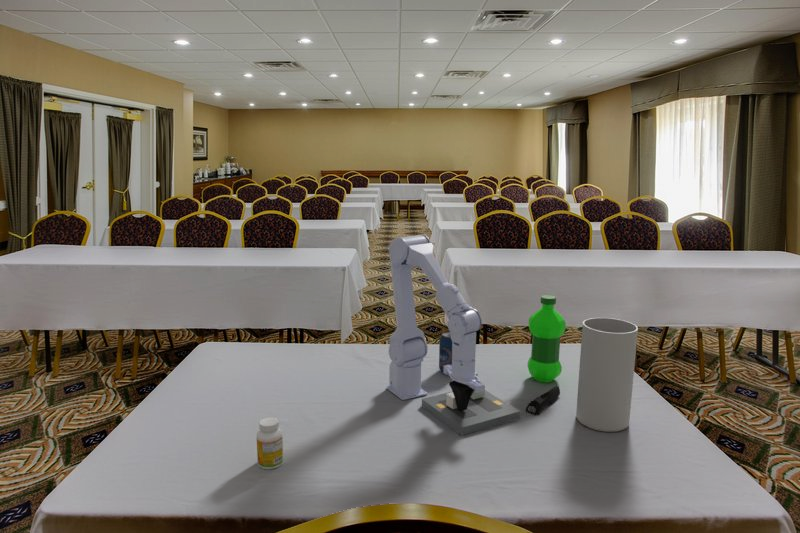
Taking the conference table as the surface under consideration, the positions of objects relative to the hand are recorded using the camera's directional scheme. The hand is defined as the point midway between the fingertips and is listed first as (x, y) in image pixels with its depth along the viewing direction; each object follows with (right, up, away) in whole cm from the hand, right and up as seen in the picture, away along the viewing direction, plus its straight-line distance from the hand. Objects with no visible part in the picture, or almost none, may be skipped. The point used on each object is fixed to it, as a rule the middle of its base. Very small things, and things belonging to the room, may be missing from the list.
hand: (462, 409), depth 142 cm
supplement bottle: (-43, -7, -20) cm, 48 cm away
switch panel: (+2, -2, +4) cm, 5 cm away
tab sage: (+5, +2, +8) cm, 9 cm away
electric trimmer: (+23, -1, +9) cm, 24 cm away
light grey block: (-1, 0, +3) cm, 3 cm away
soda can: (0, +4, +31) cm, 31 cm away
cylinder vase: (+35, -3, 0) cm, 35 cm away
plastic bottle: (+27, +2, +26) cm, 37 cm away
